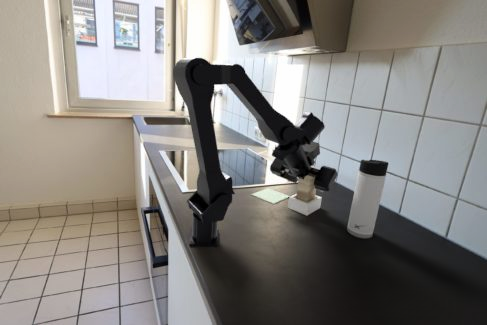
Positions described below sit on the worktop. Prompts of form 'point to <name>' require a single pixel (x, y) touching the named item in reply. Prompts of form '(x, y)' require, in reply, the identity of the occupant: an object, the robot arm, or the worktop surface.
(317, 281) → the worktop surface
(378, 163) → the travel mug
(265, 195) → the mat
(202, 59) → the robot arm
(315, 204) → the holder box
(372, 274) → the worktop surface
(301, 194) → the tall tan tower
